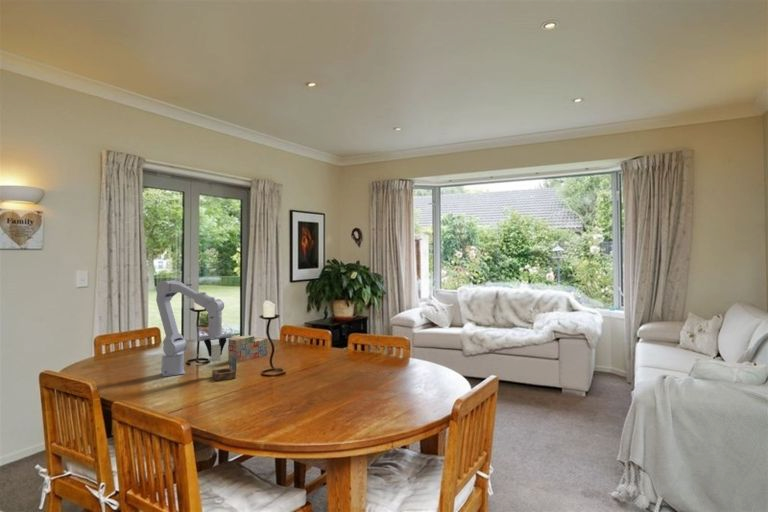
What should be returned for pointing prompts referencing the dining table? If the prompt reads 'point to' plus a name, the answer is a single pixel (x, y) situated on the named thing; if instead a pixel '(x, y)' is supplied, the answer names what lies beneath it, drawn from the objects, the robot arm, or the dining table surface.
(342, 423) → the dining table surface
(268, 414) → the dining table surface
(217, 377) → the walnut bore block
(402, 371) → the dining table surface
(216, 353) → the block
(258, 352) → the stack of blocks
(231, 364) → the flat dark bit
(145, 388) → the dining table surface
